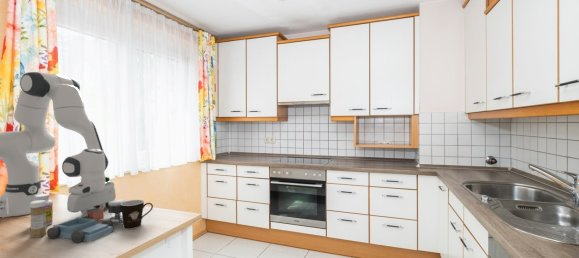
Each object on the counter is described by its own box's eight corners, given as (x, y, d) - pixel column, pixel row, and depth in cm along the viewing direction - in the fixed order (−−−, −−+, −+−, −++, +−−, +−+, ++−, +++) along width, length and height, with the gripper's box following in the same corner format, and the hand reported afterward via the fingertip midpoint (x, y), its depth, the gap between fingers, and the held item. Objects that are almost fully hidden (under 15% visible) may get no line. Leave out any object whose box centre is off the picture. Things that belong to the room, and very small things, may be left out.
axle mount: (106, 223, 121) (106, 212, 120) (118, 219, 126) (118, 208, 126) (117, 225, 119) (117, 214, 119) (128, 220, 125) (128, 210, 125)
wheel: (104, 212, 120) (104, 203, 120) (118, 207, 127) (118, 199, 127) (117, 214, 118) (117, 204, 118) (130, 209, 125) (130, 200, 125)
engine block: (82, 220, 122) (82, 209, 122) (93, 217, 127) (93, 206, 127) (93, 222, 121) (93, 211, 120) (103, 218, 125) (103, 207, 125)
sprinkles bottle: (36, 233, 109) (36, 199, 109) (49, 233, 110) (49, 199, 109) (27, 238, 105) (26, 203, 104) (40, 238, 105) (39, 202, 105)
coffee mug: (117, 230, 113) (117, 206, 113) (124, 223, 122) (124, 200, 121) (149, 228, 116) (149, 204, 116) (153, 220, 125) (153, 198, 124)
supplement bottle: (39, 228, 114) (39, 197, 114) (27, 227, 116) (27, 196, 115) (56, 223, 121) (56, 193, 120) (44, 221, 122) (44, 192, 122)
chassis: (43, 237, 106) (42, 227, 106) (79, 224, 119) (79, 215, 119) (83, 244, 101) (83, 233, 101) (116, 229, 114) (116, 220, 114)
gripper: (108, 180, 134) (108, 208, 135) (64, 189, 114) (64, 223, 115) (119, 181, 132) (118, 209, 133) (76, 191, 113) (76, 225, 113)
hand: (93, 216), depth 124 cm, fingers closed on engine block, 5 cm apart
